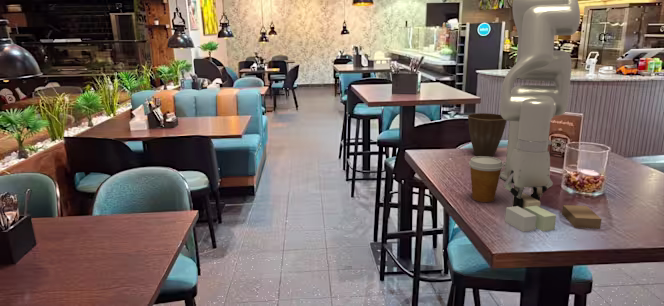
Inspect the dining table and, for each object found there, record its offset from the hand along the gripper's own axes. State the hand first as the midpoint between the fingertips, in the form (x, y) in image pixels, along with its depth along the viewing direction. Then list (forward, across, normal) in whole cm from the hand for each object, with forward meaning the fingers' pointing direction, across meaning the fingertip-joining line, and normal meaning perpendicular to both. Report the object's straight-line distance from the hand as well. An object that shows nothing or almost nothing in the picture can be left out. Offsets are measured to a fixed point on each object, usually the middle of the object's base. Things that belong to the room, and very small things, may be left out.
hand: (525, 209), depth 123 cm
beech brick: (+1, 0, 0) cm, 1 cm away
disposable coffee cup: (+1, +7, -11) cm, 13 cm away
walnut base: (+1, -10, +9) cm, 13 cm away
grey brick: (+1, +7, +9) cm, 11 cm away
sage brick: (+1, +2, +10) cm, 10 cm away
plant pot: (+1, -17, -59) cm, 61 cm away
